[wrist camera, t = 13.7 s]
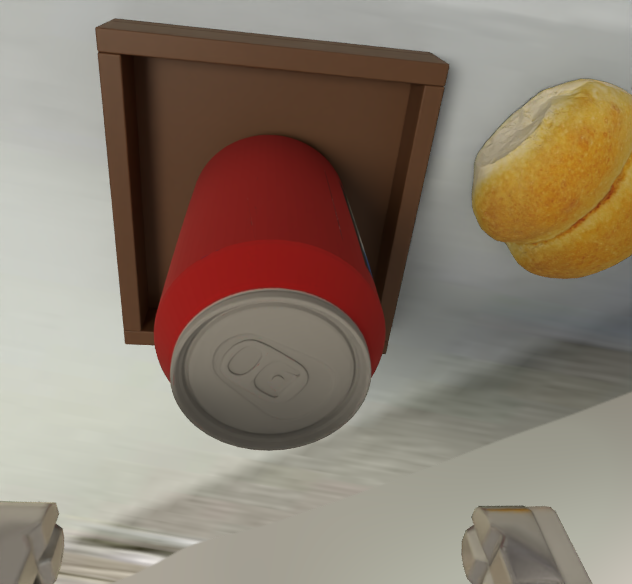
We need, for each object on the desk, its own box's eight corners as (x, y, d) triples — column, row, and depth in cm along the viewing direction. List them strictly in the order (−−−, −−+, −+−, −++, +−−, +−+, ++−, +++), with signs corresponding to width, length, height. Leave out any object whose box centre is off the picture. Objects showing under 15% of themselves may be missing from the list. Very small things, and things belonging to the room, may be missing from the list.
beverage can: (282, 292, 27) (291, 496, 17) (164, 214, 25) (91, 401, 14) (375, 192, 25) (450, 361, 15) (255, 93, 22) (245, 216, 12)
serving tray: (113, 18, 21) (94, 26, 19) (431, 52, 23) (450, 64, 20) (136, 311, 28) (124, 344, 26) (376, 322, 30) (385, 354, 27)
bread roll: (545, 285, 29) (582, 329, 26) (436, 182, 26) (461, 218, 22) (685, 171, 26) (747, 204, 23) (583, 37, 23) (639, 53, 19)
